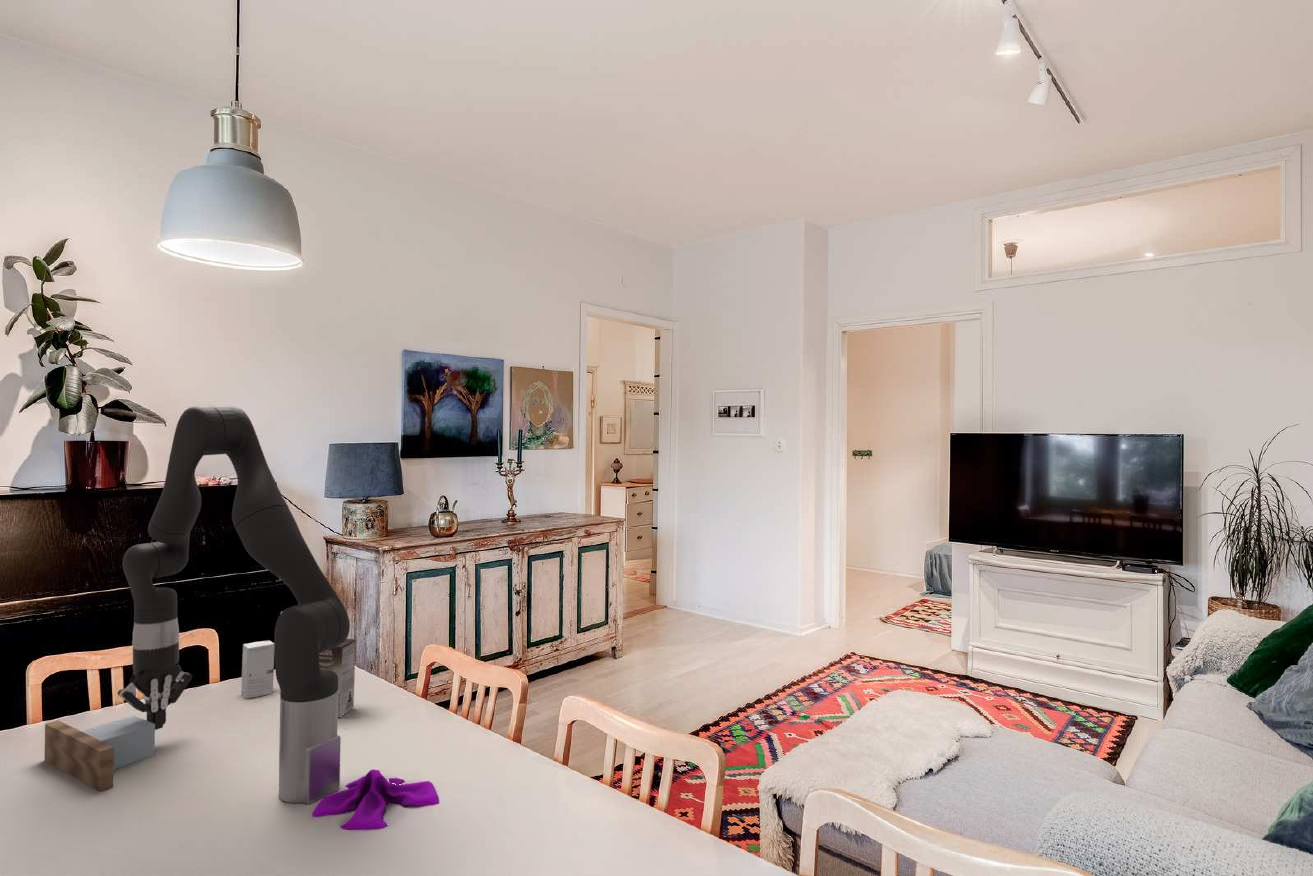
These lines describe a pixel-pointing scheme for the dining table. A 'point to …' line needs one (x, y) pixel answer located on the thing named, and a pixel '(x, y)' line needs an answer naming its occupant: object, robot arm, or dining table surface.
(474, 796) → the dining table surface
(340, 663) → the coffee box
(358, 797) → the cloth
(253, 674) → the skincare box
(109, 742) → the block
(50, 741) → the plank
